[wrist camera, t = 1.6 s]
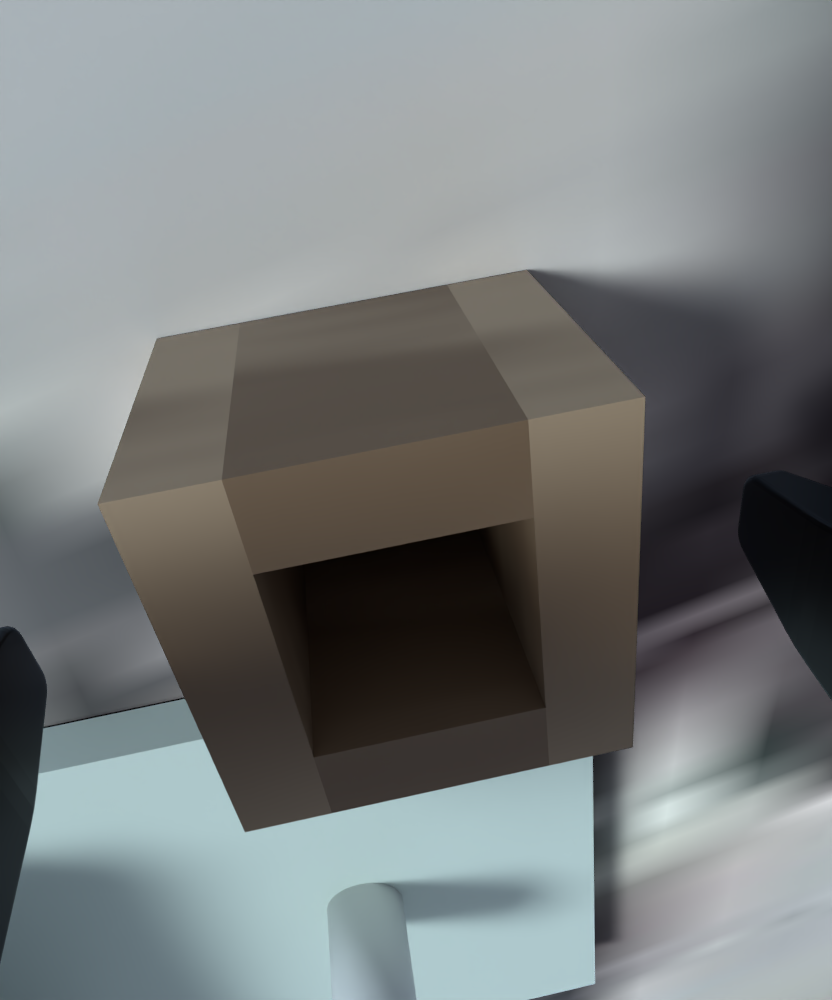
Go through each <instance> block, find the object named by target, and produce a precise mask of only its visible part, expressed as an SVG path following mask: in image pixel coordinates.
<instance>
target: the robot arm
mask: <svg viewBox="0 0 832 1000" xmlns="http://www.w3.org/2000/svg"><path fill="white" fill-rule="evenodd" d="M738 536H739V541H740V544H741V547H742V549H743V551H744V553H745V555H746V557H747V559H748V561H749V563H750V564H751V566H752V568H753V570H754V572H755V574H756V576H757V578H758V579H759V581H760V583H761V585H762V587H763V589H764V591H765V593H766V594H767V596H768V598H769V600H770V602H771V604H772V606H773V608H774V609H775V611H776V613H777V615H778V617H779V619H780V621H781V623H782V624H783V626H784V628H785V630H786V632H787V634H788V635H789V637H790V639H791V641H792V642H793V644H794V646H795V647H796V649H797V650H798V652H799V653H800V655H801V656H802V658H803V660H804V661H805V663H806V664H807V665H808V667H809V668H810V670H811V671H812V673H813V674H814V676H815V677H816V678H817V680H818V681H819V683H820V684H821V686H822V687H823V689H824V690H825V692H826V693H827V694H828V696H829V697H830V699H831V700H832V487H829V486H826V485H823V484H820V483H817V482H815V481H812V480H809V479H806V478H803V477H800V476H797V475H794V474H791V473H788V472H785V471H772V472H767V473H762V474H757V475H752V476H750V477H749V478H748V479H747V480H746V482H745V484H744V487H743V494H742V502H741V510H740V518H739V526H738ZM46 698H47V684H46V679H45V676H44V674H43V671H42V670H41V668H40V666H39V664H38V663H37V661H36V659H35V658H34V656H33V654H32V652H31V651H30V649H29V647H28V646H27V644H26V642H25V640H24V639H23V637H22V635H21V634H20V633H19V631H17V630H16V629H15V628H13V627H9V626H6V627H1V628H0V963H1V958H2V954H3V949H4V945H5V940H6V936H7V931H8V927H9V923H10V918H11V914H12V909H13V905H14V900H15V896H16V891H17V887H18V882H19V878H20V873H21V869H22V864H23V860H24V855H25V851H26V847H27V842H28V838H29V833H30V829H31V823H32V818H33V813H34V808H35V800H36V793H37V785H38V775H39V765H40V756H41V746H42V736H43V727H44V717H45V707H46Z"/></svg>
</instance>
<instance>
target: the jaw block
mask: <svg viewBox="0 0 832 1000" xmlns="http://www.w3.org/2000/svg"><path fill="white" fill-rule="evenodd" d="M644 421H645V396H644V395H643V394H642V393H641V392H640V391H639V390H638V388H637V387H636V386H635V385H634V384H633V383H632V382H631V381H630V380H629V379H628V378H627V377H626V376H625V375H624V373H623V372H622V371H621V370H620V369H619V368H618V367H617V366H616V365H615V364H614V363H613V362H612V361H611V360H610V358H609V357H608V356H607V355H606V354H605V353H604V352H603V351H602V350H601V349H600V348H599V347H598V346H597V345H596V343H595V342H594V341H593V340H592V339H591V338H590V337H589V336H588V335H587V334H586V333H585V332H584V331H583V330H582V329H581V327H580V326H579V325H578V324H577V323H576V322H575V321H574V320H573V319H572V318H571V317H570V316H569V315H568V314H567V312H566V311H565V310H564V309H563V308H562V307H561V306H560V305H559V304H558V303H557V302H556V301H555V300H554V299H553V297H552V296H551V295H550V294H549V293H548V292H547V291H546V290H545V289H544V288H543V287H542V286H541V285H540V284H539V283H538V281H537V280H536V279H535V278H534V277H533V276H532V275H531V274H530V273H529V272H528V271H527V270H525V271H519V272H514V273H509V274H503V275H498V276H492V277H487V278H482V279H476V280H471V281H465V282H460V283H455V284H449V285H444V286H438V287H433V288H428V289H422V290H417V291H412V292H406V293H401V294H395V295H390V296H385V297H379V298H374V299H368V300H363V301H358V302H352V303H347V304H341V305H336V306H331V307H325V308H320V309H315V310H309V311H304V312H298V313H293V314H288V315H282V316H277V317H271V318H266V319H261V320H255V321H250V322H244V323H239V324H234V325H228V326H223V327H218V328H212V329H207V330H201V331H196V332H191V333H185V334H180V335H174V336H169V337H164V338H158V339H157V340H156V342H155V345H154V348H153V351H152V354H151V356H150V359H149V362H148V365H147V368H146V370H145V373H144V376H143V379H142V382H141V384H140V387H139V390H138V393H137V396H136V398H135V401H134V404H133V407H132V409H131V412H130V415H129V418H128V421H127V423H126V426H125V429H124V432H123V435H122V437H121V440H120V443H119V446H118V449H117V451H116V454H115V457H114V460H113V462H112V465H111V468H110V471H109V474H108V476H107V479H106V482H105V485H104V488H103V490H102V493H101V496H100V499H99V502H98V506H99V508H100V511H101V513H102V515H103V517H104V519H105V522H106V524H107V526H108V528H109V531H110V533H111V535H112V537H113V540H114V542H115V544H116V546H117V548H118V551H119V553H120V555H121V557H122V560H123V562H124V564H125V566H126V568H127V571H128V573H129V575H130V577H131V580H132V582H133V584H134V586H135V589H136V591H137V593H138V595H139V597H140V600H141V602H142V604H143V606H144V609H145V611H146V613H147V615H148V618H149V620H150V622H151V624H152V626H153V629H154V631H155V633H156V635H157V638H158V640H159V642H160V644H161V646H162V649H163V651H164V653H165V655H166V658H167V660H168V662H169V664H170V667H171V669H172V671H173V673H174V675H175V678H176V680H177V682H178V684H179V687H180V689H181V691H182V693H183V696H184V698H185V700H186V702H187V704H188V707H189V709H190V711H191V713H192V716H193V718H194V720H195V722H196V724H197V727H198V729H199V731H200V733H201V736H202V738H203V740H204V742H205V745H206V747H207V749H208V751H209V753H210V756H211V758H212V760H213V762H214V765H215V767H216V769H217V771H218V774H219V776H220V778H221V780H222V782H223V785H224V787H225V789H226V791H227V794H228V796H229V798H230V800H231V802H232V805H233V807H234V809H235V811H236V814H237V816H238V818H239V820H240V823H241V825H242V827H243V829H244V831H245V832H249V831H254V830H258V829H263V828H267V827H272V826H276V825H281V824H285V823H290V822H295V821H299V820H304V819H308V818H313V817H317V816H322V815H326V814H331V813H336V812H340V811H345V810H349V809H354V808H358V807H363V806H367V805H372V804H377V803H381V802H386V801H390V800H395V799H399V798H404V797H408V796H413V795H418V794H422V793H427V792H431V791H436V790H440V789H445V788H449V787H454V786H459V785H463V784H468V783H472V782H477V781H481V780H486V779H490V778H495V777H499V776H504V775H509V774H513V773H518V772H522V771H527V770H531V769H536V768H540V767H545V766H550V765H554V764H559V763H563V762H568V761H572V760H577V759H581V758H586V757H591V756H595V755H600V754H604V753H609V752H613V751H618V750H622V749H627V748H632V747H633V730H634V702H635V674H636V646H637V618H638V589H639V561H640V533H641V505H642V477H643V449H644Z"/></svg>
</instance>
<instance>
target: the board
mask: <svg viewBox="0 0 832 1000" xmlns="http://www.w3.org/2000/svg"><path fill="white" fill-rule="evenodd" d="M592 984H595V931H594V831H593V756H591V757H586V758H581V759H577V760H572V761H568V762H563V763H559V764H554V765H550V766H545V767H540V768H536V769H531V770H527V771H522V772H518V773H513V774H509V775H504V776H499V777H495V778H490V779H486V780H481V781H477V782H472V783H468V784H463V785H459V786H454V787H449V788H445V789H440V790H436V791H431V792H427V793H422V794H418V795H413V796H408V797H404V798H399V799H395V800H390V801H386V802H381V803H377V804H372V805H367V806H363V807H358V808H354V809H349V810H345V811H340V812H336V813H331V814H326V815H322V816H317V817H313V818H308V819H304V820H299V821H295V822H290V823H285V824H281V825H276V826H272V827H267V828H263V829H258V830H254V831H249V832H245V831H244V829H243V827H242V825H241V823H240V820H239V818H238V816H237V814H236V811H235V809H234V807H233V805H232V802H231V800H230V798H229V796H228V794H227V791H226V789H225V787H224V785H223V782H222V780H221V778H220V776H219V774H218V771H217V769H216V767H215V765H214V762H213V760H212V758H211V756H210V753H209V751H208V749H207V747H206V745H205V742H204V740H203V738H202V736H201V733H200V731H199V729H198V727H197V724H196V722H195V720H194V718H193V716H192V713H191V711H190V709H189V707H188V704H187V702H186V700H185V699H182V700H177V701H172V702H167V703H162V704H158V705H153V706H148V707H143V708H139V709H134V710H129V711H124V712H120V713H115V714H110V715H105V716H100V717H96V718H91V719H86V720H81V721H77V722H72V723H67V724H62V725H58V726H53V727H48V728H43V736H42V746H41V756H40V765H39V775H38V785H37V793H36V800H35V808H34V813H33V818H32V823H31V829H30V833H29V838H28V842H27V847H26V851H25V855H24V860H23V864H22V869H21V873H20V878H19V882H18V887H17V891H16V896H15V900H14V905H13V909H12V914H11V918H10V923H9V927H8V931H7V936H6V940H5V945H4V949H3V954H2V958H1V963H0V1000H528V999H533V998H537V997H541V996H546V995H550V994H554V993H558V992H563V991H567V990H571V989H575V988H580V987H584V986H588V985H592Z"/></svg>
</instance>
